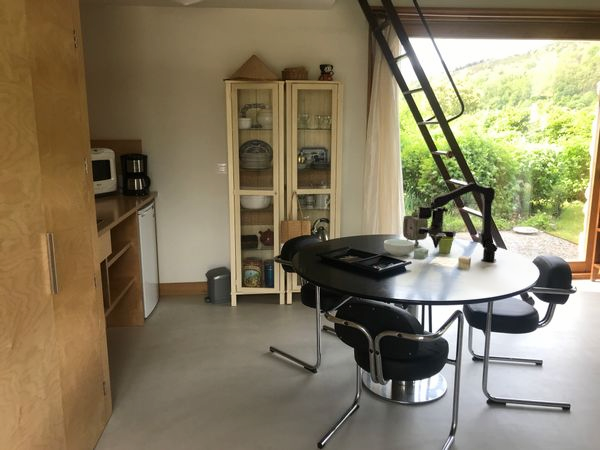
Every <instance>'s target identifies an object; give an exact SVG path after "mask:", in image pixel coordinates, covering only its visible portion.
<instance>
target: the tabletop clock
mask: <svg viewBox="0 0 600 450" xmlns="http://www.w3.org/2000/svg"><path fill="white" fill-rule="evenodd" d="M415 206H417V208H418V209H419V206H420V205H419V204H416V203H415V204H413V206H412V209H413V210H414V211H413V212H412V213H411V214H410V215H405V216H403V222H402V233H403V237H404V238H405V240H407V241H415V242H414V248H415V247H417V246H418V245H420V244H419V241H421V240H422V241H423V240H426V239H427V236H428V233H424V234H418V230H419V229H420V228H422V227H424V228H428V229H429V222H428V219H418V209H417V208H415Z"/></svg>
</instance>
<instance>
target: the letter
mask: <svg viewBox="0 0 600 450" xmlns="http://www.w3.org/2000/svg"><path fill="white" fill-rule="evenodd" d="M458 260H459V258H453V257H445V256H436V257H434V259H432V260H430V261H429V262H428V265H433V266H443V267H449V268H454V267H455V266H456V265H458Z"/></svg>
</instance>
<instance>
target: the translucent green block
mask: <svg viewBox="0 0 600 450" xmlns="http://www.w3.org/2000/svg"><path fill="white" fill-rule="evenodd" d="M428 257H429V249H427V248H426V249H425V248H420V247H419V248H416V249H413V258H417V259H424V260H425V259H427V258H428Z"/></svg>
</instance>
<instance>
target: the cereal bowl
mask: <svg viewBox="0 0 600 450" xmlns="http://www.w3.org/2000/svg"><path fill="white" fill-rule="evenodd" d="M414 244H415V242H414V241H412V240H408V241H407V239H398V238H397V239H395V238H394V239H386V240H384V242H383V248H384V250H385V251H386V252H388V253H389V254H390V255H391V256H395V257H397V256H398V257H403V256H406V255H408V254H410V253H412V252H414V250H415V249H414V248H415V246H414Z"/></svg>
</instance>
